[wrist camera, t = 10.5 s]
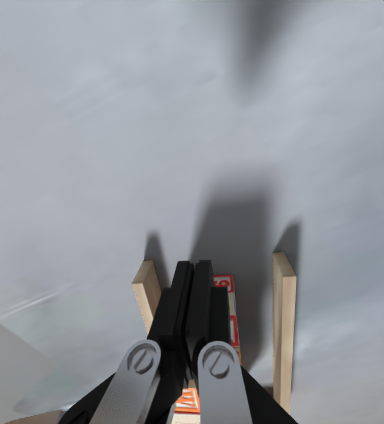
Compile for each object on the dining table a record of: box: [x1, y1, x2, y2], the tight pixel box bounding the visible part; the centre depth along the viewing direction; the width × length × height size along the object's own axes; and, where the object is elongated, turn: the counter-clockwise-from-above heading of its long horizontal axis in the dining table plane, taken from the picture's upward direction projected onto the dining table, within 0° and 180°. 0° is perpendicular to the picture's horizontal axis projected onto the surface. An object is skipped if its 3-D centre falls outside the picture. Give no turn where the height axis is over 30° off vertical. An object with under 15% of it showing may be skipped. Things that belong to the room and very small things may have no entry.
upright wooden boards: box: [132, 252, 296, 414], centre depth 28 cm, size 16×29×4 cm, turn 9°
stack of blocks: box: [171, 275, 242, 424], centre depth 24 cm, size 21×6×12 cm, turn 9°
